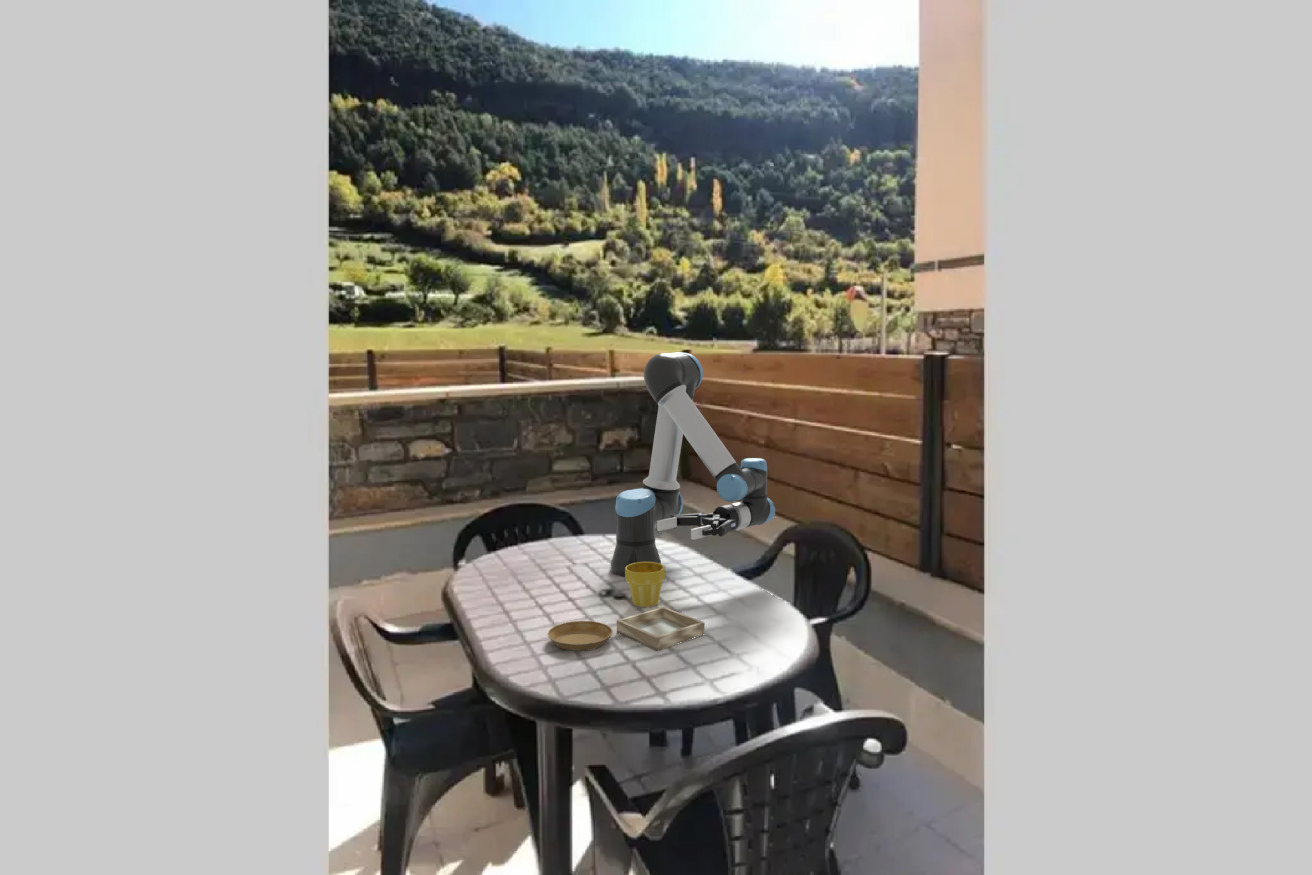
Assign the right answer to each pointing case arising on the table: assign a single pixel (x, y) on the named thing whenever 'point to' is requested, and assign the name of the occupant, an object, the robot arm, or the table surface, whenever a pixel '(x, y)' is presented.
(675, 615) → the tray
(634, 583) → the plant pot
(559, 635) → the plant saucer
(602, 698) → the table surface
